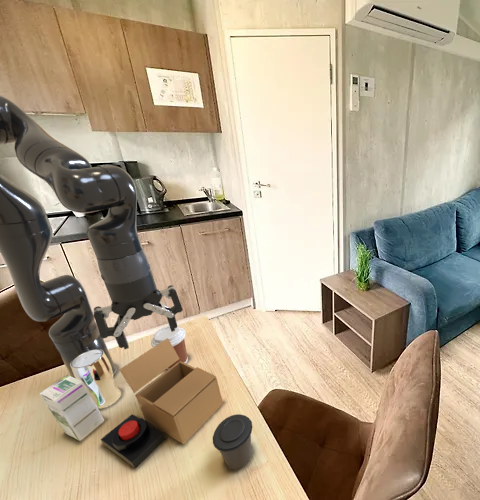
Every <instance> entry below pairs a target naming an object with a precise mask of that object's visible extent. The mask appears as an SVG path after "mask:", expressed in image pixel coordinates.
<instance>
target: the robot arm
mask: <svg viewBox="0 0 480 500" xmlns="http://www.w3.org/2000/svg"><path fill="white" fill-rule="evenodd" d="M10 144H11V145H12V144H14V148H13V149H14V155H15V157H16V159H17V160H18V162H19V163H20V164H21V166H23V168H25V169H26V170H27V171H29V172H30V173H32V174H33V175H34V176H37V178H40V179H41V180H43V181H44V182H45V183H47V185H48V186H49V187H50V189H51V190H52V191H53V193H54V194H55V196H56V198H57V200H58V201H59V202H60V204H61V205H62V206H63V208H66V209H67V210H69V211H71V212H73V213H79V214H89V213H90V214H91V213H95V212H99V211H103V210H107V209H108V212H107V214H106V216H105V217H104V218H102V219H100V220H99V221H97V222H95V223H93V224H91V225H90V226H89V227H88V228H87V231H86V233H87V237H88V241H89V243H90V245H91V248H92V250H93V254H94V255H95V257H96V261H97V267H98V270H99V273H100V277H101V280H102V281H103V284H104V285H105V288H106V290H107V293H108V295H109V298H110V301H111V304H110V305H107V306H104V307H103V306H99V305H98V306H97V305H96V306H95V307H94V308H93V309H92V307H91V303H90V301H89V298H88V295H87V293H86V291H85V290H86V289H85V288H84V286H83V284H82V283H81V282H80V281H79V279H77V278H76V277H74V276H73V275H70V274H63V275H60V276H57V277H54V278H52V279H49V280H46V281H43V282H41V275H40V272H41V268H42V264H43V261H44V259H45V257H46V255H47V252H48V250H49V248H50V246H51V242H52V239H53V227H52V225H51V222H50V220H49V217H48V214H47V211H46V209H45V207H44V206H43V204H42V203H41V202H40V201H39V200H38V199H37V198H36V197H34V196H33V195H32V194H31V193H29V192H27V191H26V190H25V189H23V188H21V187H20V186H18V185H17V184H16V183H14V182H12V181H11V180H9V179H8V178H6V177H5V176H4V175H2V174H1V173H0V255H1V257H2V259H3V261H4V263H5V265H6V268H7V269H8V272H9V274H10V277H11V280H12V284H13V285H14V289H15V291H16V294H17V297H18V300H19V302H20V304H21V306H22V308H23V310H24V311H25V313H26V315H27V316H28V317H29V318H30V319H32V320H33V321H35V322H37V323H46V322H48V321H51V320H53V319H56V318H58V317H60V316H61V317H60V318H59V319H57V321H55V322H54V323H53V324H52V325H51V326H50V328H49V329H48V337H49V338H50V340H51V342H52V344H53V345H54V347H55V349H56V351H57V353H58V355H59V356H60V358H61V360H62V362H63V364H64V365H65V368H66V369H67V371H68V373H69V376H71V377H73V378H75V376H74V374H73V371H72V368H71V366H70V363H71V361H72V360H73V359H74V358H75V357H77V356H78V355H80V354H82V353H84V352H86V351H89V350H93V349H101V350H103V351H104V353H105V355H106V357H107V358H108V360H109V362H110V364H111V367H112V371H113V377H114V376H115V375H116V373H117V370H118V368H117V365H115V362H114V360H113V358H112V355H111V353H110V351H109V349H108V347H107V344H106V342H105V340H104V339H107V338H109V337H114V338H115V341H116V344H117V346H118V347H119V348H120V349H124V350H127V349H129V348H130V345H129V342H128V339H127V337H126V334H125V332H124V330H125V328H127V326H128V324H129V322H130V321H132V320H133V321H136V320H139V319H141V318H143V317H149V316H152V315H153V313H155V314H158V315H160V316H164V317H166V319H167V322H168V326H170V329H171V332H173V331H175V329H174V328H177V326H178V323H177V319H176V314H178V313H182V312H183V310H184V309H183V305H182V303H181V301H180V298H179V296H178V293H177V290H176V288H175V286H174V285H171V284H170V285H168V286H167V288H165V289H162V290H159V289H158V288H157V284H156V281H155V278H154V274H153V272H152V269H151V264H150V263H149V262H150V261H149V259H148V256H147V254H146V252H145V251H144V250H145V249H144V248H143V246H142V242H141V239H140V236H139V233H138V229H137V206H138V205H137V204H138V191H137V187H136V184H135V181H134V179H133V178H132V176H131V175H130V174H129V173H128V172H127V171H126V170H125V169H123V168H122V167H120V166H117V165H103V166H102V165H101V166H94V167H92V165H91V163H90V161H89V160H88V159H87V158H86V157H84V155H81V154H80V153H79V152H77V151H75V150H73V149H72V148H70V147H68V146H67V145H65V144H64V143H62V142H60V141H59V140H57V139H55V138H54V137H53V136H52V135H50V134H49V133H48V132H47V131H46V130H45V129H44V128H43V127H41V126H40V124H38V123H37V122H36V121H35V119H33V118H31V116H30V115H28V114H27V113H26V112H25V111H24V110H23V109H21V107H19V106H18V105H17V104H16V103H15V102H13V101H12V100H10V99H9V98H7V97H5V96H3V95H0V145H10ZM163 297H165V298H166V299H171V301H172V304H173V306H171V307H169V306H167V305H165V304H164V303H163V302H161V301H162V299H163ZM111 313H114V314H116V315H118V316H117V319H116V321H115V323H114V325H113V326H109V327H108V322H107V319H108V318H109V317H110V314H111ZM75 379H76V378H75Z"/></svg>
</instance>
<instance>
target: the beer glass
mask: <svg viewBox="0 0 480 500" xmlns="http://www.w3.org/2000/svg"><path fill="white" fill-rule="evenodd" d="M70 366H71V368H72V371H73V374H74V376H75V378H76V379H78V380H80V381H82V382H83V383H84V385H85V387H86V388H87V390H88V392H89V394H90V395H91V397H92V399H93V401H94V402H95V404H96V406H97V408H98V409H99V410H100V409H101V410H102V409H106V408H108V407H110V406H112V405H114V403H116V402H117V401H118V400H119V399H120V398H121V395H122V391H121V390H120V389H119V388H118V386H117V385H116V383H115V379H114V376H113V371H112V367H111V364H110V362H109V360H108V358H107V357H106V355H105V353H104V351H103V350H101V349H93V350H89V351H86V352H84V353H82V354H80V355H78V356H77V357H75V358H74V359H73V360H72V361H71V363H70Z"/></svg>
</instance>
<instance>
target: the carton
mask: <svg viewBox="0 0 480 500" xmlns="http://www.w3.org/2000/svg"><path fill="white" fill-rule="evenodd" d="M134 396H135V398H136V400H137V403H138V405H139V407H140V410H141V412H142V414H143V417H144V420H145V421H146V422H147V423H148V424H149V425H151V426H152V427H154V428H156V429H157V430H159V431H160V432H162V433H163V434H164V433H165V434H166V435H167V436H169V437H171V438H172V439H174V440H175V441H177V442H179V443H180V444H182V445H184V444H185V443H187V442H188V441H189V439H191V437H192V436H193V435H194V434H195V433H196V432H197V431H198V430H199V429H200V428H201V427H202V426H203V425H204V424H206V422H207V421H208V420H209V419H210V418H211V417H212V416H213V415H214V414H215V412H217V410H218V409H219V408H220V407H221V406H222V405H224V400H223V397H222V393H221V390H220V386H219V381H218V378H217V376H216V374H213V373H211V372H209V371H207V370H204V369H202V368H201V367H198V366H197V367H194V366H192V365H190V364H188V363H187V362H186V363H184V362H181V361H179V362H178V363H177V364H175V365H174V366H173V367H171V368H170V369H169V370H168V369H166V370H165V371H164V372H162V373H161V374H160V375H158V377H156V378H154V379H153V380H152V381H150V382H149V384H147V385H145V386H144V387H143V388H141V390H139V391H137V393H135V394H134Z"/></svg>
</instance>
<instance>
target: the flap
mask: <svg viewBox="0 0 480 500" xmlns="http://www.w3.org/2000/svg"><path fill="white" fill-rule="evenodd" d="M177 360H179V357H178V355H177V353H176V352H175V350H174V348H173V346H172V344H171V343H170V341H169V339H168V338H167V339H165V340H164V341H162V342H161V343H159V344H158V345H156V346H155V347H152V348H150V349H149V350H147V351H146V352H144V353H142V354H141V355H140V356H138V357H136V358H135V359H134V360H132V361H130V362H128V363H127V364H126V365H124V366H123V367H121V368H120V369H119V372H120V373H121V375H122V377H123V378H124V380H125V381H126V383H127V385H128V386H129V387H130V389H131V391H132V392H133V393H135V394H136V392H139V391H140V389H143V388H144V387H145V386H147V385H148V383H151V382H152V381H153V380H155V379H156V378H157V376H160V375H161V374H162V373H164V372H165V371H166V370H168V369H167V368H168V367H169V366H171V365H172V364H173V363H175V362H176V361H177Z"/></svg>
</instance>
